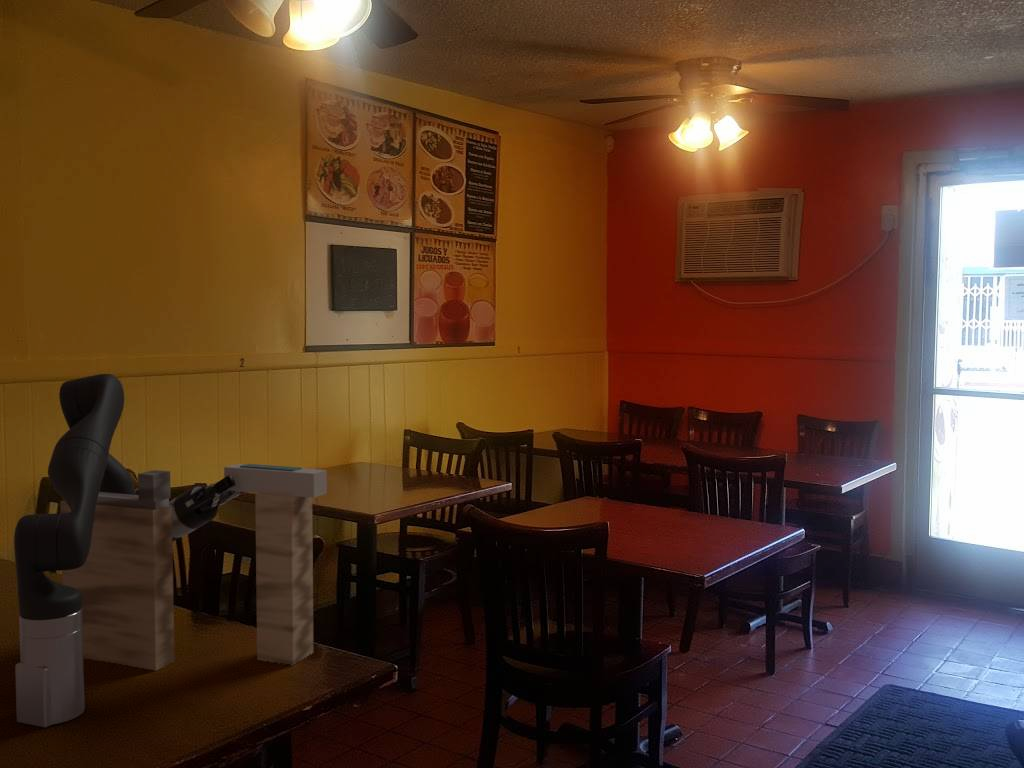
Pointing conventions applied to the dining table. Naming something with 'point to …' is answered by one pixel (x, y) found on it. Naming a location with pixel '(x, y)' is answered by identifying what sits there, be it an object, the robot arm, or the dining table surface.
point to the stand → (284, 577)
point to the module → (278, 480)
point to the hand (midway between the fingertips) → (246, 476)
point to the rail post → (129, 577)
